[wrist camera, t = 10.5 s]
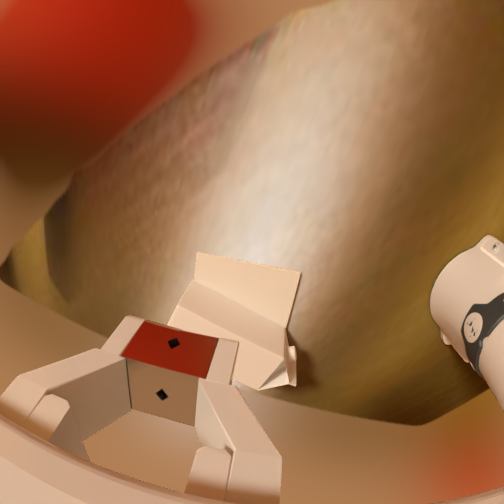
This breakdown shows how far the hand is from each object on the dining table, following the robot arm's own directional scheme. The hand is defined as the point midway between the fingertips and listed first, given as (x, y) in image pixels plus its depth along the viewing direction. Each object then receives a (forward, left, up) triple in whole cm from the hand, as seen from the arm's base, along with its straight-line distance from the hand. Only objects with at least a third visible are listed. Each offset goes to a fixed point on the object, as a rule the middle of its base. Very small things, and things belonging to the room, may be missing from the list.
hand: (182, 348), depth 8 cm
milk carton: (+9, +19, -29) cm, 36 cm away
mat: (0, +18, -33) cm, 38 cm away
